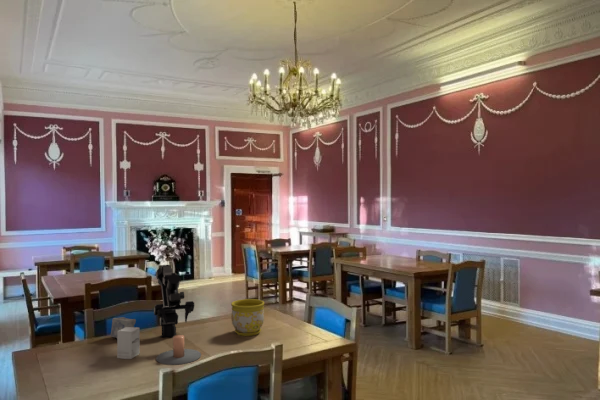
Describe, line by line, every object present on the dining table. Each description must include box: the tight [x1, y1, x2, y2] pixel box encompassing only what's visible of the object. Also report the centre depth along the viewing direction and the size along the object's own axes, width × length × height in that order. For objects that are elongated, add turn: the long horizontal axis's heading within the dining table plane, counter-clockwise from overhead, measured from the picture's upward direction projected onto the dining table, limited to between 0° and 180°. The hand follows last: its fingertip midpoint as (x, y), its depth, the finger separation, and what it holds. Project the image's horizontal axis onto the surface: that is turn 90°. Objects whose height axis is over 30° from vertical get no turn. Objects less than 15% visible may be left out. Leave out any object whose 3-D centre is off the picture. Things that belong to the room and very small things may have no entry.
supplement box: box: [116, 326, 141, 360], centre depth 213 cm, size 7×7×13 cm
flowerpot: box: [230, 298, 265, 337], centre depth 250 cm, size 18×18×16 cm
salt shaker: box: [172, 334, 185, 358], centre depth 212 cm, size 5×5×9 cm
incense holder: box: [110, 316, 137, 339], centre depth 241 cm, size 10×8×10 cm
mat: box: [156, 348, 202, 366], centre depth 212 cm, size 20×20×1 cm
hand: (176, 323), depth 219 cm, fingers open, 9 cm apart
